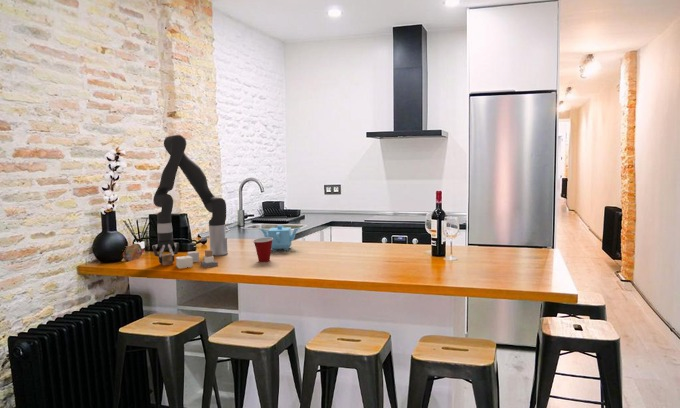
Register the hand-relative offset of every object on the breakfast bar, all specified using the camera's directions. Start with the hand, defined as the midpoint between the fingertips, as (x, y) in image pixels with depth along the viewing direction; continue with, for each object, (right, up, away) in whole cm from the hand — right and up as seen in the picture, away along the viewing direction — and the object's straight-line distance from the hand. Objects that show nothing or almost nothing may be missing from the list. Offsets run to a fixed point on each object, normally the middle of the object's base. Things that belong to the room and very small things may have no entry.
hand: (166, 263), depth 271 cm
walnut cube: (0, -1, 0) cm, 1 cm away
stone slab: (-25, 0, +17) cm, 30 cm away
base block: (+12, -1, -8) cm, 14 cm away
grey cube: (+12, 0, +7) cm, 14 cm away
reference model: (+24, 0, -7) cm, 25 cm away
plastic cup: (+51, +1, +2) cm, 51 cm away
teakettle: (+56, +4, +36) cm, 67 cm away
